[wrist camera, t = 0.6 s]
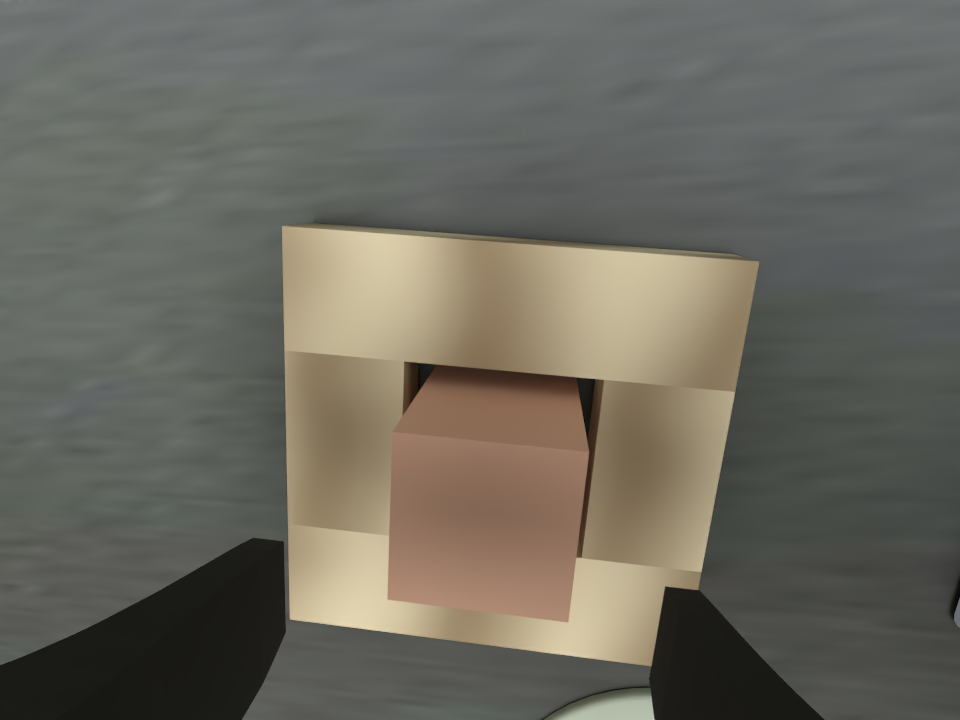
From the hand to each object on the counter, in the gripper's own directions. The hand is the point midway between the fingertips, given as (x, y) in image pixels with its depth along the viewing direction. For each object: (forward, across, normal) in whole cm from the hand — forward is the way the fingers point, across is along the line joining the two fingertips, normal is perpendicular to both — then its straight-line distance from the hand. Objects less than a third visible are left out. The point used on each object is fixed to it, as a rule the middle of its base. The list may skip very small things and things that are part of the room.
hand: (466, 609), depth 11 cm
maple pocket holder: (+9, 0, 0) cm, 9 cm away
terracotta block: (+9, 0, 0) cm, 9 cm away
